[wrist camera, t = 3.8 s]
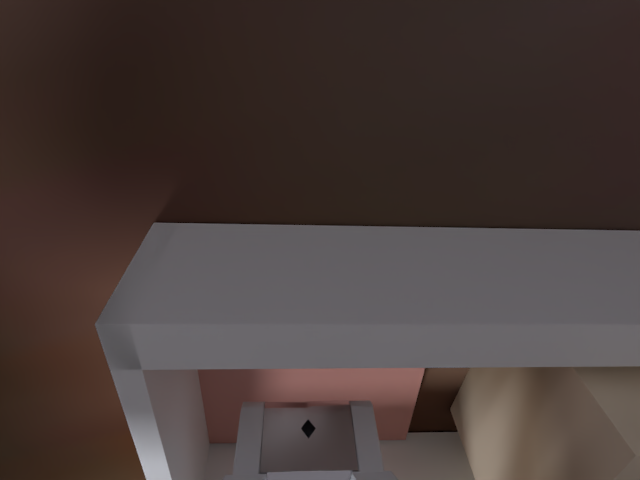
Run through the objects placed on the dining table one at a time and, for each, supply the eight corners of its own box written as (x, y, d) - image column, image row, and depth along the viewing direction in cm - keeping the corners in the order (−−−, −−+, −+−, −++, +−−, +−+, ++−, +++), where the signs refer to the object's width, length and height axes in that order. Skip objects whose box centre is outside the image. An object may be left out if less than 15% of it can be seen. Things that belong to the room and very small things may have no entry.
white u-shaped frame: (153, 222, 9) (94, 324, 6) (850, 234, 10) (1046, 324, 7) (198, 454, 13) (175, 567, 11) (668, 445, 14) (747, 545, 12)
